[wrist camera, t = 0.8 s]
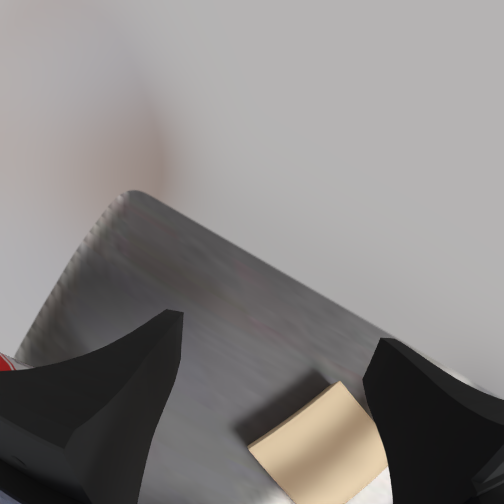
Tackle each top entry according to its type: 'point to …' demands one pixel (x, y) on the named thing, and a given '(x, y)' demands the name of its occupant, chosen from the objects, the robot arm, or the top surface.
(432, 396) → the robot arm
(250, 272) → the top surface
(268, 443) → the oak block
